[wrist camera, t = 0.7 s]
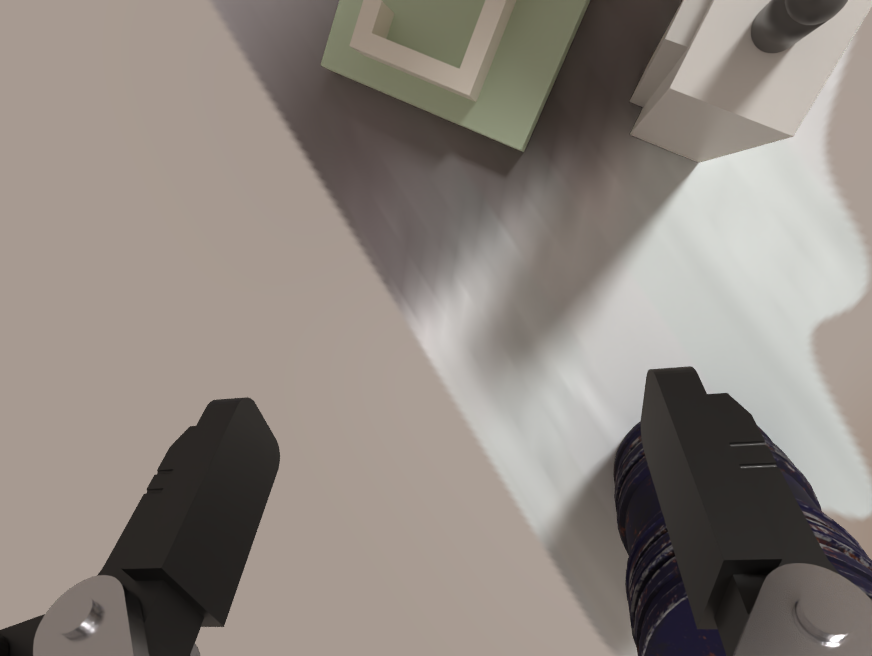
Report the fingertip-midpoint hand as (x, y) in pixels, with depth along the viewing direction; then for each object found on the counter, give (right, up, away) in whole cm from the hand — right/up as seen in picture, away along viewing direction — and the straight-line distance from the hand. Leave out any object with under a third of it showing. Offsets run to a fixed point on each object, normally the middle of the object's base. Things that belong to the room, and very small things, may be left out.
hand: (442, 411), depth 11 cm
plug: (+13, +14, +17) cm, 25 cm away
